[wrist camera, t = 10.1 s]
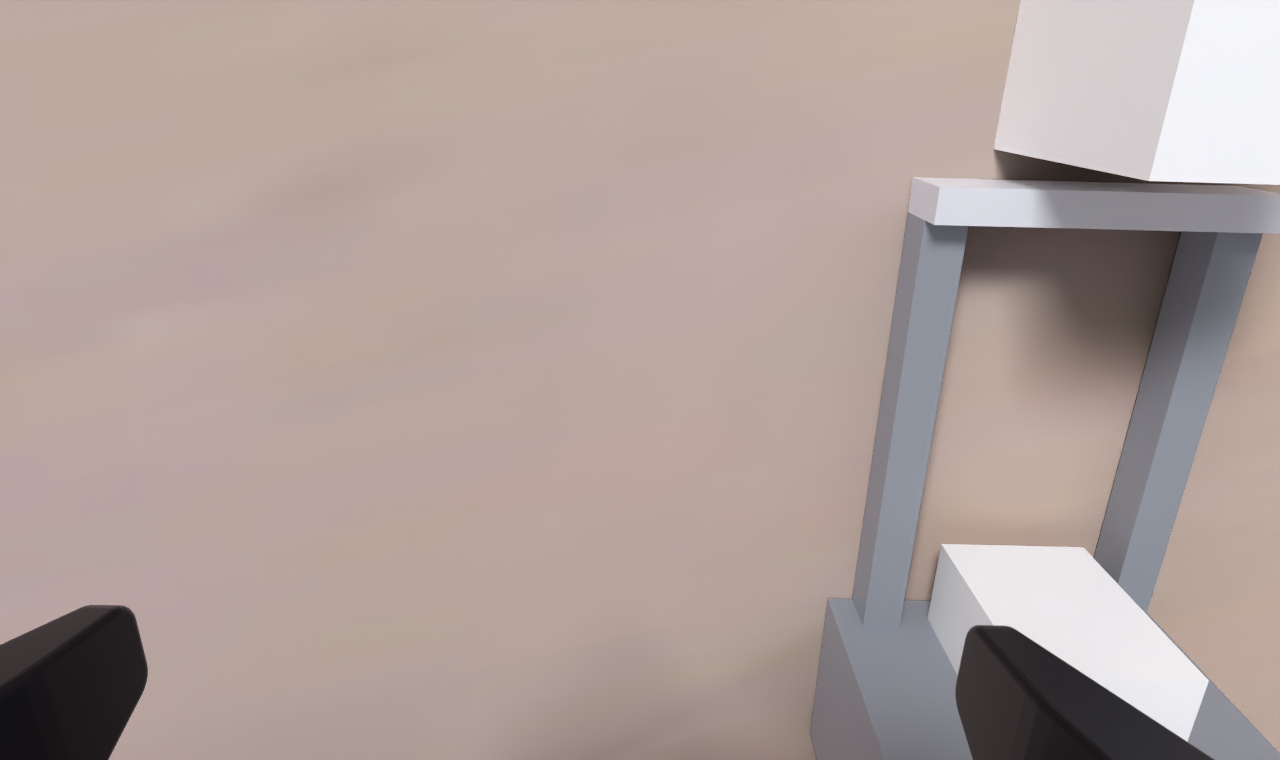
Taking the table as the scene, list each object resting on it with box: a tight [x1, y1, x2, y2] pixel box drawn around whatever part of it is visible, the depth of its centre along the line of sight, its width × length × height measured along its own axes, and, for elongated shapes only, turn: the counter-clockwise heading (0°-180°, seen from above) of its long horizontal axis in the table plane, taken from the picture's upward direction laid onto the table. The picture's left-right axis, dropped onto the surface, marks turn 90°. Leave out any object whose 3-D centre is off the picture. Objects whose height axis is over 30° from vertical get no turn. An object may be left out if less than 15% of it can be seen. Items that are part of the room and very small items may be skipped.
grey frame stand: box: [810, 177, 1280, 760], centre depth 19 cm, size 17×9×6 cm, turn 179°
